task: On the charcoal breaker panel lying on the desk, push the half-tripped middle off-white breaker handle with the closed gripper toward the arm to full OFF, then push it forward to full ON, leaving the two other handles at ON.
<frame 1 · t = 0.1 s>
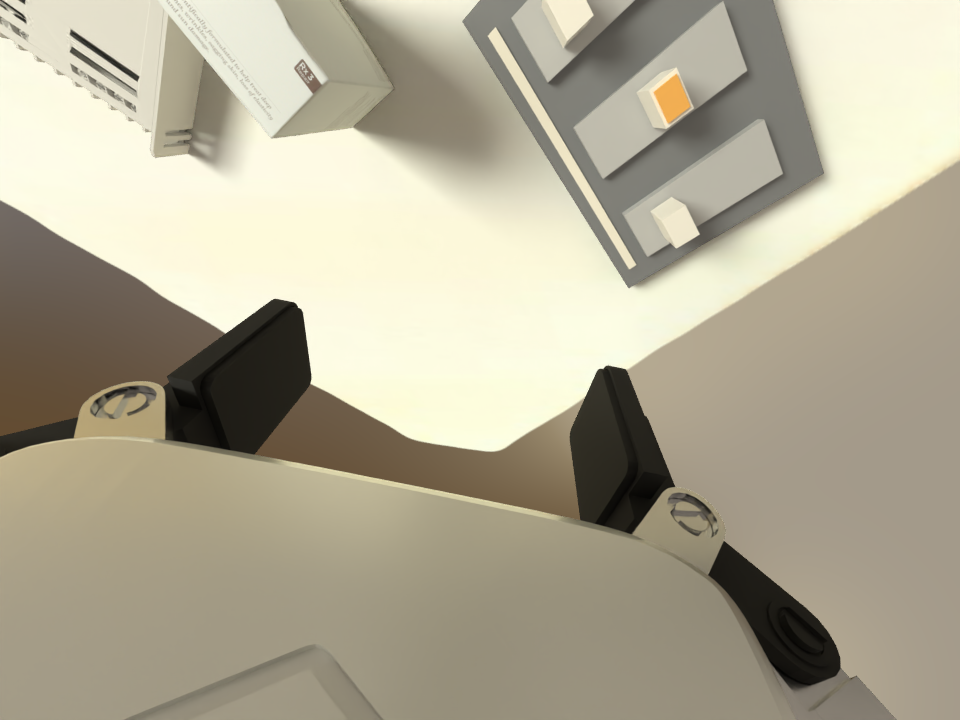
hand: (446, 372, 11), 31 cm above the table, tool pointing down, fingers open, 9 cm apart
tripped breaker: (664, 100, 27), point 5 cm above the table, slide at 3.0 cm
breaker three: (673, 222, 32), point 5 cm above the table, slide at 6.0 cm
breaker one: (566, 11, 25), point 5 cm above the table, slide at 6.0 cm
breaker panel: (645, 101, 31), on the table
skincare box: (347, 66, 32), on the table
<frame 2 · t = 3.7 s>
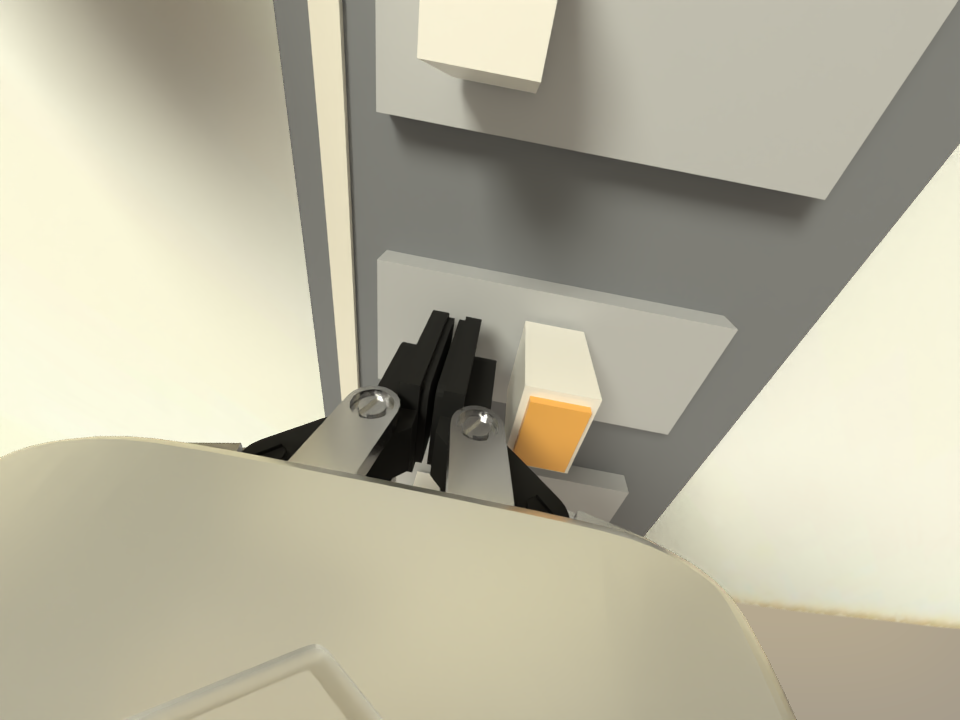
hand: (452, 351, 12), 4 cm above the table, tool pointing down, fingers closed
tripped breaker: (545, 395, 11), point 5 cm above the table, slide at 2.8 cm, touching gripper
breaker three: (427, 526, 17), point 5 cm above the table, slide at 6.0 cm
breaker panel: (536, 318, 16), on the table
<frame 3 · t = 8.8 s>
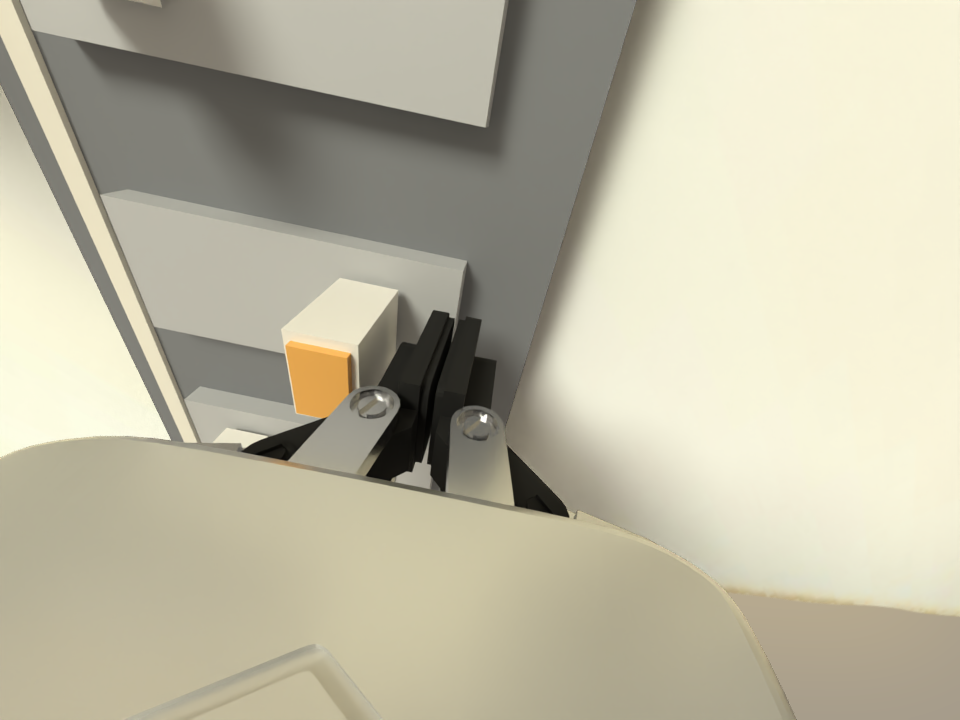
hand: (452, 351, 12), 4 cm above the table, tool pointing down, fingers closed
tripped breaker: (348, 350, 11), point 5 cm above the table, slide at 0.0 cm, touching gripper
breaker three: (229, 481, 16), point 5 cm above the table, slide at 6.0 cm
breaker panel: (329, 272, 16), on the table
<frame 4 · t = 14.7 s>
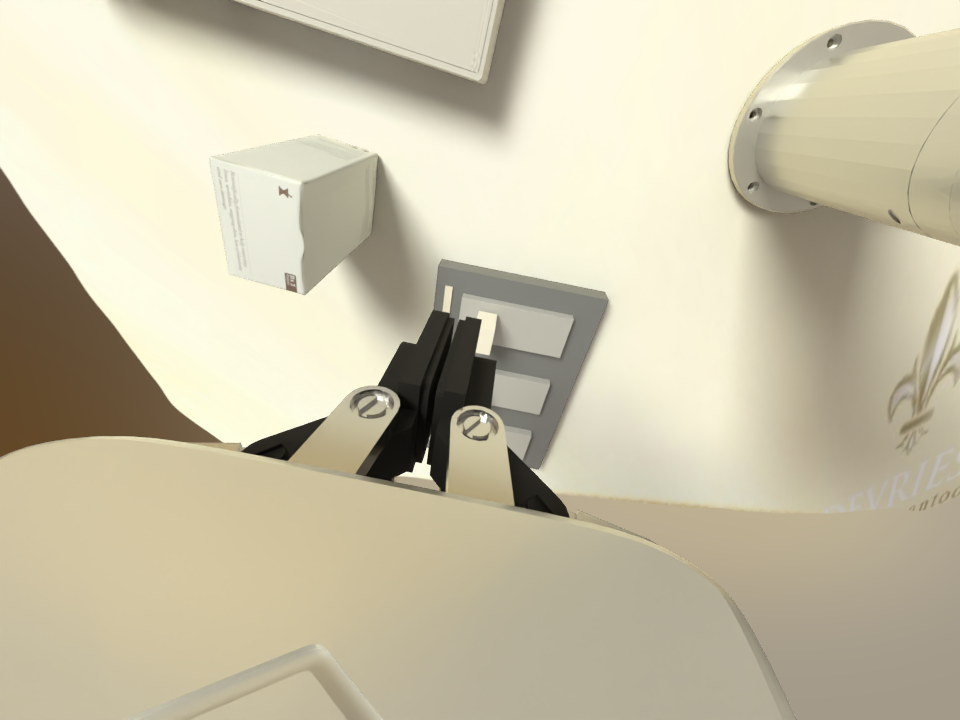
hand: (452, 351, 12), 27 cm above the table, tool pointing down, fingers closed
breaker one: (484, 332, 37), point 5 cm above the table, slide at 6.0 cm
breaker panel: (498, 376, 47), on the table
skincare box: (350, 190, 36), on the table
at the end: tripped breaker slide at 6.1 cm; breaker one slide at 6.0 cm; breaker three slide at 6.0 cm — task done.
